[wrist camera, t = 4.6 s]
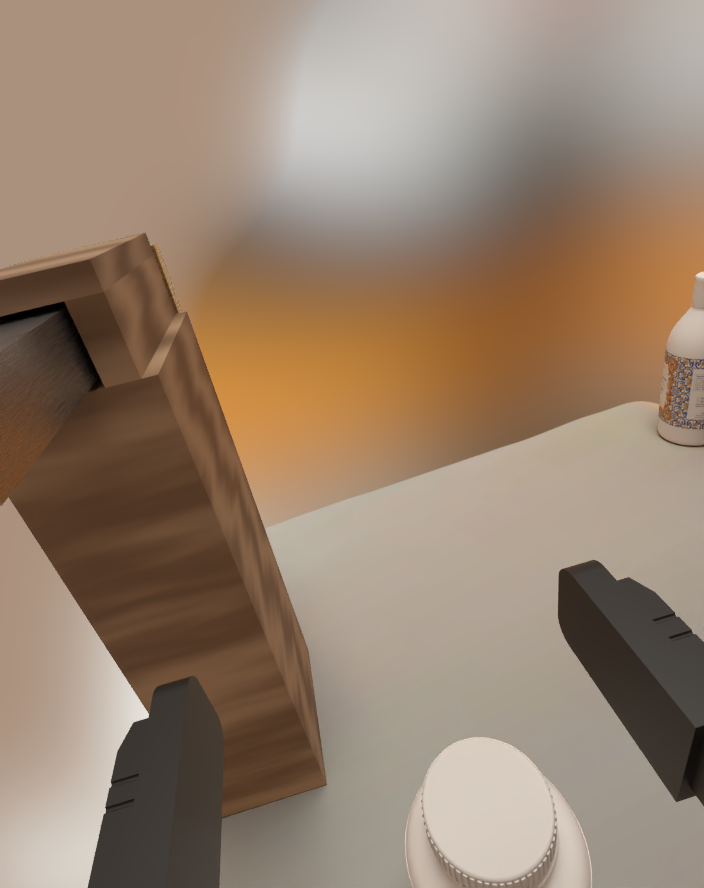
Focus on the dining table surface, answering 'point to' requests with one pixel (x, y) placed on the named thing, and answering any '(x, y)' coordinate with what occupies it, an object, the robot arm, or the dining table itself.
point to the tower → (167, 520)
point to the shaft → (37, 385)
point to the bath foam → (685, 376)
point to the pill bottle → (492, 824)
